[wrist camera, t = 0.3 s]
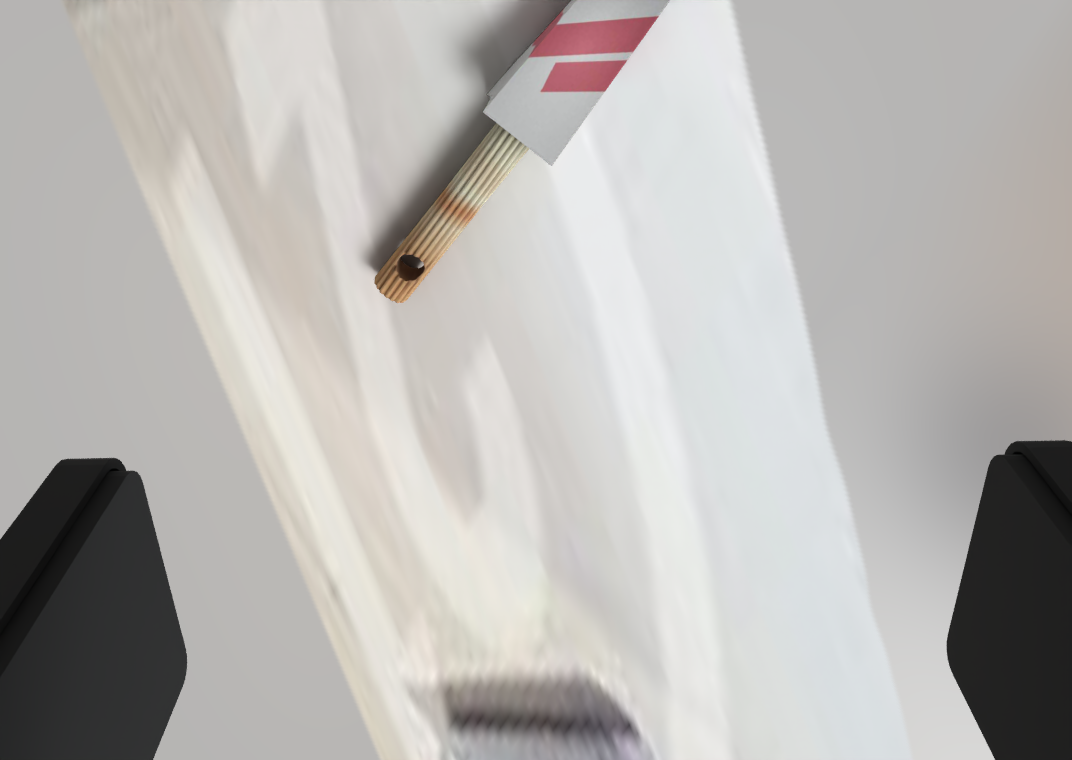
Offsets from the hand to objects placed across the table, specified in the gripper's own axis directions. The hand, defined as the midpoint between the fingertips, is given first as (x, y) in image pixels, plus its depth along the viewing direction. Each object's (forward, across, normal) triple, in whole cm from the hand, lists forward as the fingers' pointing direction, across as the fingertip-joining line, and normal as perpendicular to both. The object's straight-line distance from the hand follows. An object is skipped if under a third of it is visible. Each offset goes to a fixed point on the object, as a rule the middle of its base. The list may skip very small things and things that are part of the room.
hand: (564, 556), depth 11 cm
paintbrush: (+37, +1, +5) cm, 37 cm away
